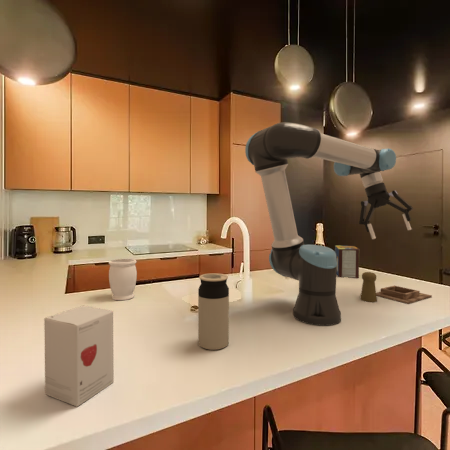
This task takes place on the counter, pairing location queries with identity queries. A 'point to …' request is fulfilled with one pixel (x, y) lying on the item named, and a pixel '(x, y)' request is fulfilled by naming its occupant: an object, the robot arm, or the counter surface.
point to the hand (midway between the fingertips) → (391, 234)
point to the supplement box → (78, 353)
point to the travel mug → (213, 311)
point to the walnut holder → (402, 294)
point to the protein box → (347, 261)
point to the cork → (368, 287)
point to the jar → (122, 278)
